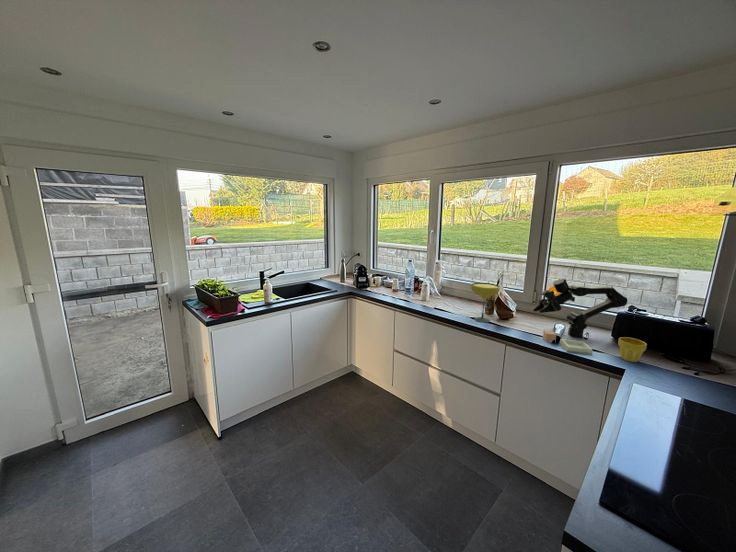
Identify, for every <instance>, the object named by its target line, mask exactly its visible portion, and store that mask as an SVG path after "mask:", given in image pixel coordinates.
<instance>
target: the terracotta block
mask: <svg viewBox="0 0 736 552" xmlns="http://www.w3.org/2000/svg"><path fill="white" fill-rule="evenodd" d="M542 335H543V336H542V340H543V341H544V340H545V341H553V340H555V342H557V341H556V340H557V334H556V332H554V331H552V330H550V331H549V330H543V333H542ZM545 341H544V342H545Z"/></svg>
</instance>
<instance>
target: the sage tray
mask: <svg viewBox="0 0 736 552" xmlns="http://www.w3.org/2000/svg"><path fill="white" fill-rule="evenodd" d="M559 345H560V346H561V347H562V349H564V350H565V351H566V352H567V353H571V352H572V353H573V354H579V353H580V354H582V355H588V354H590V355H589V356H592V354H593V348H591V347H590V346H589V345H588V344H587V343H586V342H584V341H583V340H573V339H565V338H560V340H559ZM580 354H579V355H580Z"/></svg>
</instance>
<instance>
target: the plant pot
mask: <svg viewBox="0 0 736 552" xmlns="http://www.w3.org/2000/svg"><path fill="white" fill-rule="evenodd" d="M617 342H618V343H617V345H618V346H619V355H620V359H623V360H624V361H626V362H631V363H632V362H633V363H637V362H639V361H640V358H641V356H642V355H643V354H644V352H645V351H646V350H647V346H648V344H647V343H646V342H645V341H643V340H640V339H637V338H634V337H626V336H623V337H619V338H618V341H617Z"/></svg>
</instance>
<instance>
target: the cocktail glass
mask: <svg viewBox="0 0 736 552" xmlns="http://www.w3.org/2000/svg"><path fill="white" fill-rule="evenodd" d="M470 286H471V287H470V288H471V291H472V292H473V293H474V294H476V295H478V296H480V297H481V299H482V300H483V304H482V312H481V316H477V317H473V320H474V319H475V320H476V322H479V323H483V324H484V323H491V319H489V318H487V317H485V316H484V311H485V300H487V299H488V298H490V297H492V296H495V295H497V294H498V293H500V290H501V289H500V285H498V284H495V283H489V282H473V283H472V284H471V285H470ZM475 320H474V321H475Z"/></svg>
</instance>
